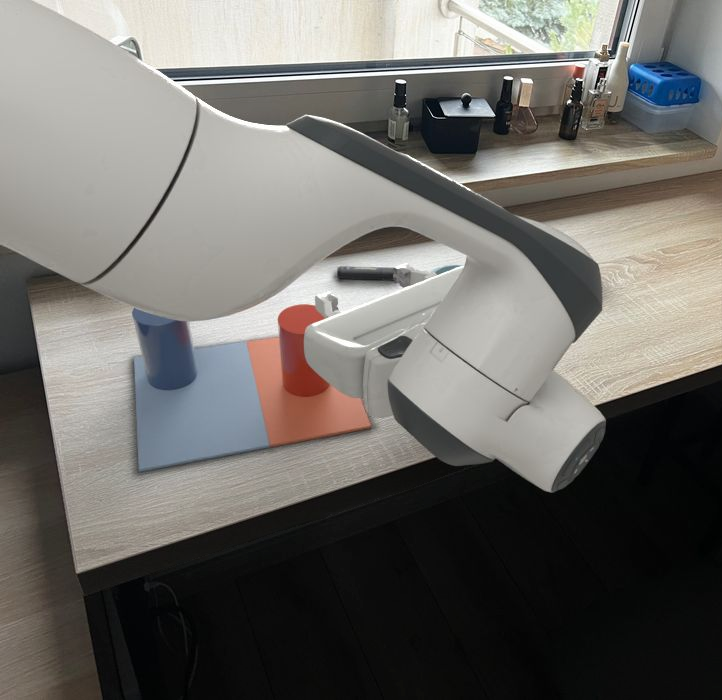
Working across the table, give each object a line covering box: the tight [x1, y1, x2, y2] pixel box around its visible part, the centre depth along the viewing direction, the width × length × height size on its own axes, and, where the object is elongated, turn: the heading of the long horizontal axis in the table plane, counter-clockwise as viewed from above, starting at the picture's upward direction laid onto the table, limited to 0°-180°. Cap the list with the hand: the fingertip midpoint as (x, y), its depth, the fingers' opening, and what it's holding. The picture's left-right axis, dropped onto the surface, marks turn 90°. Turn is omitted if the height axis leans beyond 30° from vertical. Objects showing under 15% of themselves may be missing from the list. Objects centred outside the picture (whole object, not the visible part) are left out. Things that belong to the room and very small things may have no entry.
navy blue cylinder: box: [131, 308, 198, 390], centre depth 88 cm, size 6×6×10 cm
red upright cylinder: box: [277, 303, 330, 397], centre depth 89 cm, size 6×6×10 cm
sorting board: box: [133, 336, 372, 473], centre depth 90 cm, size 26×20×1 cm
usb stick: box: [336, 265, 395, 281], centre depth 113 cm, size 10×3×2 cm, turn 96°
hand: (361, 284), depth 73 cm, fingers open, 8 cm apart
